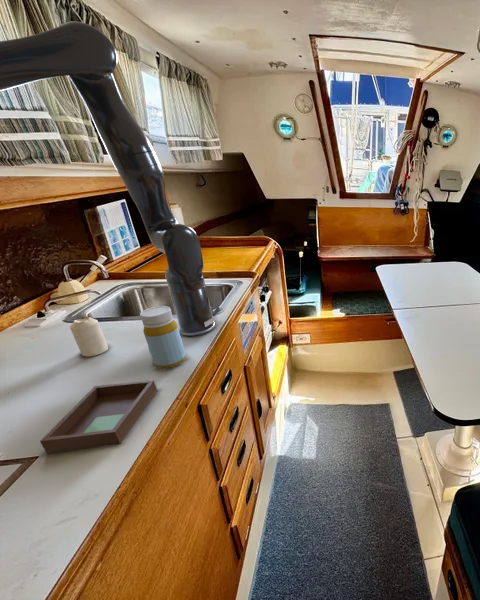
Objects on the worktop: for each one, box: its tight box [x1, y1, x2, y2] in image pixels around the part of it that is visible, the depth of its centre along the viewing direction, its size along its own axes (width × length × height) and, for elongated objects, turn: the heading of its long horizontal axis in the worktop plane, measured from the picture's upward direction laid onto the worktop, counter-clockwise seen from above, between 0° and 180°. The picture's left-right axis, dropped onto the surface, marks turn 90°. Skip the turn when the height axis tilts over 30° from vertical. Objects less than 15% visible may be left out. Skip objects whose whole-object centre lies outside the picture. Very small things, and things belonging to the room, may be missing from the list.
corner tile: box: [84, 414, 124, 433], centre depth 64 cm, size 7×7×1 cm
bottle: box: [139, 305, 187, 369], centre depth 82 cm, size 7×7×15 cm
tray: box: [39, 379, 158, 454], centre depth 66 cm, size 16×12×3 cm
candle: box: [69, 316, 109, 358], centre depth 87 cm, size 6×6×10 cm
